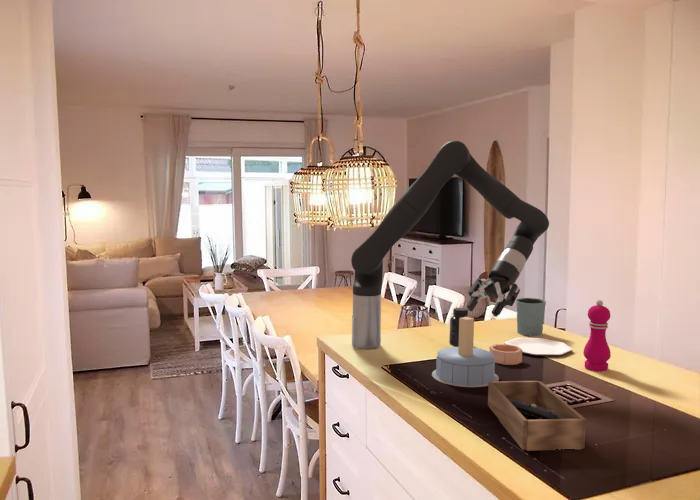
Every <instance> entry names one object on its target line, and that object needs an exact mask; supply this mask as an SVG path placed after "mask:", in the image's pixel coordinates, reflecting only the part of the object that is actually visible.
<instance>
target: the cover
mask: <svg viewBox="0 0 700 500" xmlns="http://www.w3.org/2000/svg"><path fill="white" fill-rule="evenodd" d="M474 332H475V318H473V317H469V316H467V317H462V318H459V346H451V347H445V348H441V349H440V350H438V351H437V355H436V361H435V363H436V365H435V366H436V367H435V368H436V369H435V370H436V375H437V376H438V377H439V378H440V379H441V380H444V381H447V382H449V383H453V384H461V385H483V384H486V383H489V382H491V381H493V379H494V375H495V374H496V371H495V370H496V369H495V367H496V365H495V364H496V363H495V359H494V355H493V354H492V353H491V352H489V351H490V350H489V351H488V350H487V349H486V350H485V349H483V348H477V347H474V340H475V338H474V335H475V333H474Z"/></svg>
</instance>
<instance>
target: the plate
mask: <svg viewBox="0 0 700 500" xmlns="http://www.w3.org/2000/svg"><path fill="white" fill-rule="evenodd" d="M504 344H508V345H513V346H518V347H520V348H521V349H522V354H524V355H525V354H526V355H531V356H539V357H540V356H542V357H544V356H546V357H547V356H548V357H550V356H552V357H559V356H564V355H566V354H569V353H571V352H573V348H571V346H569V345H567V344H566V343H565V342H562V341H558V340H553V339H547V338H544V337H516V338H512V339H510V340H506V341H504Z"/></svg>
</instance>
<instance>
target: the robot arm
mask: <svg viewBox="0 0 700 500" xmlns="http://www.w3.org/2000/svg"><path fill="white" fill-rule="evenodd" d="M454 175H456V177H458V178H460V179H462V180H463V181H465V182H466V183H467V184H469V185H470V186H471V187H473V189H475V190H476V192H477V193H478V194H479V195H481V197H482V198H483V199H485V201H486V202H487V203H488V204H490V205H491V206H492V207H493V208H494V209H495V210H496V211H497V212H498V213H500V215H501V216H503V217H504V218H505V219H507V220H508V219H509V220H510V219H514V218H515V219H516V220H518V221H519V224H518V225H517V227H516V229H515V231H514V232H513V235H512V237H511V239H510V240H509V242H508V244H507V245H506V246H505V248H504V250H503V251H502V253H501V254H500V255H499V256H498V257H497V259H496V261H495V263H494V264H493V266H492V267H491V269H490V271H489V273H488V278H487V279H485V280H482V279H481V278H480V277H477V278H476V279H475V281H474V283H473V284H472V286H471V287H470V288H469V289H468V291H467V294H468V295H469V297H470V299H469V301H468V302H467V305H466V309H468V312H473V311H474V309H475V308H476V306H477V305H478V303H479V301H481V300H482V299H486V298H488V297H489V298H495V299H498V301H497V302H496V303H495V305H494V307H493V309H492V310H491V314H492V316H493V317H497V318H498V316H499V315H501V313H502V311H503V310H504V308H505V307H507V306H509V307H512V306H513V305H514V304H515V303H516V300H517V299H518V298H517V297H518V296H519V294H520V292H521V289H520V287H519V285H518V284H517V283H516V281H517V280H518V279H519V277H520V275H521V273H522V272H523V270H524V268H525V265H526V263H527V261H528V260H529V258H530V257H531V256H530V255H531V254H532V252H533V250H534V245H535V243H536V241H537V240H538V239H539V238H540V237H541V236H542V235H543V234H544V233H545V232H546V231H547V230H548V228H549V227H550V221H549V218H548V216H547V215H546V214H545V212H544V211H542V210H541V209H539V208H538V207H536V206H534V205H532V204H530V203H528V202H526V201H524V200H522V199H521V198H519V197H518V195H517V194H516V193H514V192H513V191H512V190H511V189H510V188H508V187H507V186H506V185H505V184H503V183H502V182H501V181H499V180H498V179H497V178H495V177H494V176H492V175H491V174H490V173H489V172H487V171H486V170H485V169H484V168H483V167H482V166H481V165H480V164H479V163H478V162H477V160H476V159H475V158H474V157H473V155H472V154H471V153H470V150H469V148H468V147H467V145H466V144H465V143H463V142H462V141H460V140H449V141H446V143H444V144H443V145H442V146H441V147H440V149H438V151H437V153H436V155H435V156H434V158H433V159H432V161H431V162H430V164H429V165H428V166H427V167H426V168H425V170H424V172H423V173H421V175H420V176H418V178H417V179H416V180H415V181H414V182H413V183H412V184H411V185H410V186H409V187H408V188H407V189H406V190H405V192H403V194H402V195H401V196H400V197H399V199H398V200H396V202H395V203H394V204H393V206H392V207H391V208H390V209H389V211H388V212H387V214H386V215H385V216H384V218H383V219H382V220H381V222H380V223H379V225H378V227H377V228H376V229H375V230H374V232H373V233H372V234H371V235H370V236H368V238H366V240H365V241H363V242H362V244H360V245H359V246H358V247H357V248H356V249H355V250H354V251H353V252H352V255H351V258H350V259H351V261H350V262H351V266H352V269H353V270H354V280H353V285H352V316H351V344H352V348H353V349H360V350H373V349H378V348H381V346H382V345H381V341H382V339H381V337H382V336H381V335H382V334H381V333H382V332H381V331H382V330H381V329H382V328H381V327H382V286H383V272H384V267H383V266H384V258H385V257H386V255H388V252H389V251H390V250H391V249H392V248H393V246H394V245H395V244H397V242H398V241H400V239H402V238H403V237H404V236H405V235H407V234H408V233H409V232H410V231H411V230H412V229H413V228H414V227H415V226H416V225H417V224H418V223H419V221H420V220H421V219H422V217H424V215H425V214H426V213H427V212H428V211H429V209H430V207H431V206H432V204H433V203H434V201H435V200H436V198H437V197H438V195H439V193H440V191H441V190H442V188H443V187H444V186H445V185H446V183H448V182H449V180H451V178H452V177H453V176H454ZM506 294H507V295H506Z"/></svg>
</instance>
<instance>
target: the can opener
mask: <svg viewBox="0 0 700 500" xmlns="http://www.w3.org/2000/svg"><path fill="white" fill-rule="evenodd" d="M508 400H509V401H510V402H511V403H512V404H513V405H514V406H515V407H516V409H517V410H518V411H519V412H520V413H521V414H522V415H523V416H524V417H525V418H526V419H527V420H536V419H560V418H559V417H558V416H557V415H556V413H555V411H553V410H550V411H547V410H545V409H542V408H540V407H537V406H536V405H535V404H532V405H531V404H528V403H525V402H521V401H517V400H512V399H508Z"/></svg>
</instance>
